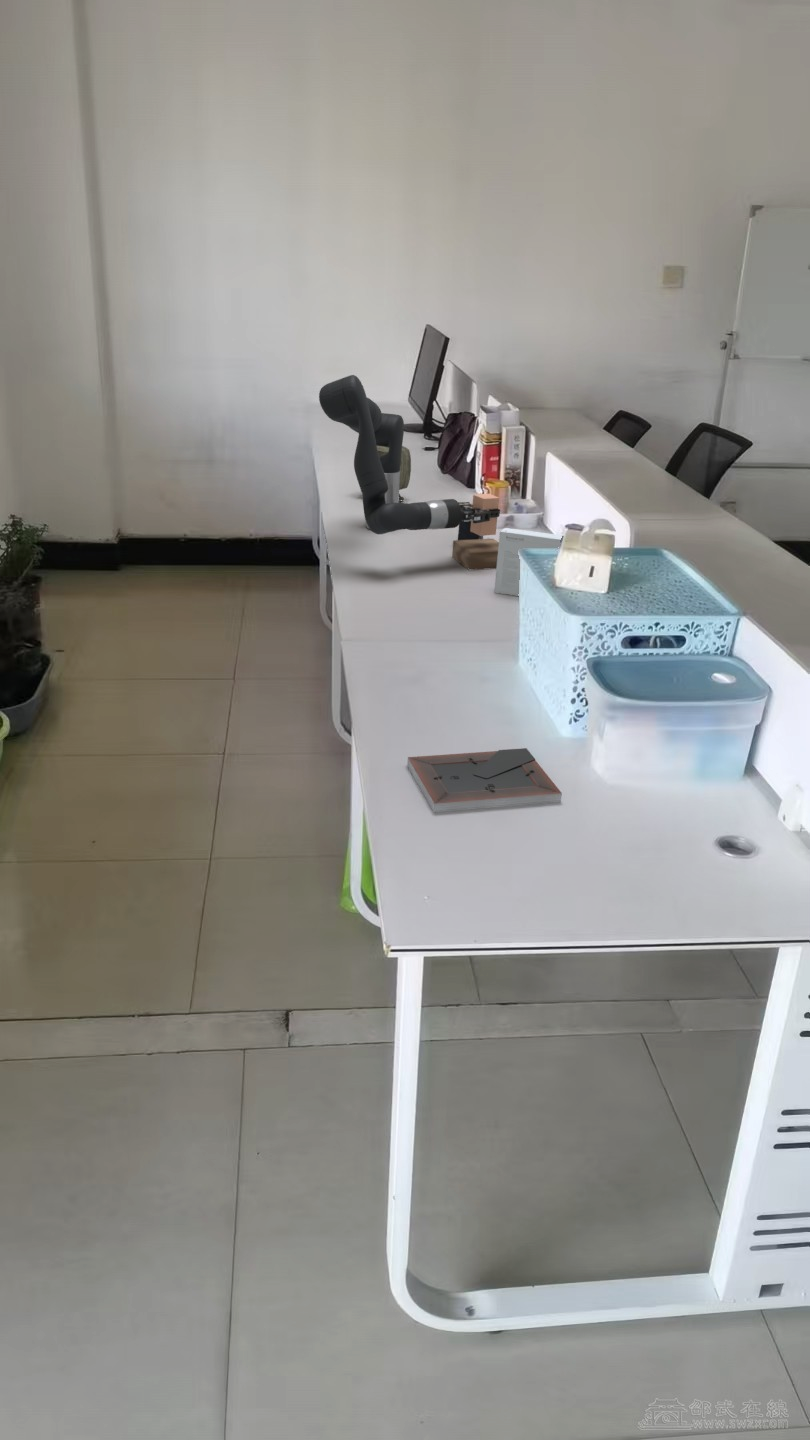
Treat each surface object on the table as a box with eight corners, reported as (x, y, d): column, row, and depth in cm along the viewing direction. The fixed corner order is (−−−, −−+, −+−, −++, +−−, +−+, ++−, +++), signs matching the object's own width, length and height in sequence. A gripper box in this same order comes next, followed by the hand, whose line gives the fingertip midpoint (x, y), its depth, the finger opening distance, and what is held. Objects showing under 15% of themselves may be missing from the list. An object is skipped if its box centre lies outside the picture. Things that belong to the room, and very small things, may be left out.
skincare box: (579, 599, 277) (587, 537, 271) (575, 605, 273) (583, 543, 266) (498, 587, 283) (504, 526, 276) (493, 593, 278) (498, 531, 272)
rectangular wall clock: (525, 760, 195) (406, 768, 189) (526, 747, 194) (407, 755, 188) (560, 805, 180) (433, 816, 175) (562, 792, 179) (434, 802, 174)
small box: (478, 550, 313) (481, 514, 309) (456, 548, 314) (459, 511, 310) (484, 541, 322) (487, 505, 318) (462, 538, 324) (464, 503, 319)
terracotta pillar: (470, 531, 300) (473, 494, 296) (485, 529, 302) (488, 493, 298) (480, 535, 296) (483, 498, 292) (495, 534, 298) (499, 497, 294)
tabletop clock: (409, 502, 361) (413, 424, 350) (394, 506, 354) (398, 427, 343) (372, 494, 368) (375, 417, 357) (356, 499, 360) (359, 421, 350)
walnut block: (452, 558, 306) (453, 540, 304) (491, 556, 310) (493, 538, 308) (469, 570, 296) (470, 552, 293) (509, 568, 300) (511, 550, 298)
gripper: (455, 506, 282) (509, 502, 291) (426, 494, 294) (479, 490, 302) (452, 535, 286) (506, 530, 294) (424, 521, 297) (477, 517, 305)
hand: (492, 510), depth 298 cm, fingers closed on terracotta pillar, 5 cm apart
